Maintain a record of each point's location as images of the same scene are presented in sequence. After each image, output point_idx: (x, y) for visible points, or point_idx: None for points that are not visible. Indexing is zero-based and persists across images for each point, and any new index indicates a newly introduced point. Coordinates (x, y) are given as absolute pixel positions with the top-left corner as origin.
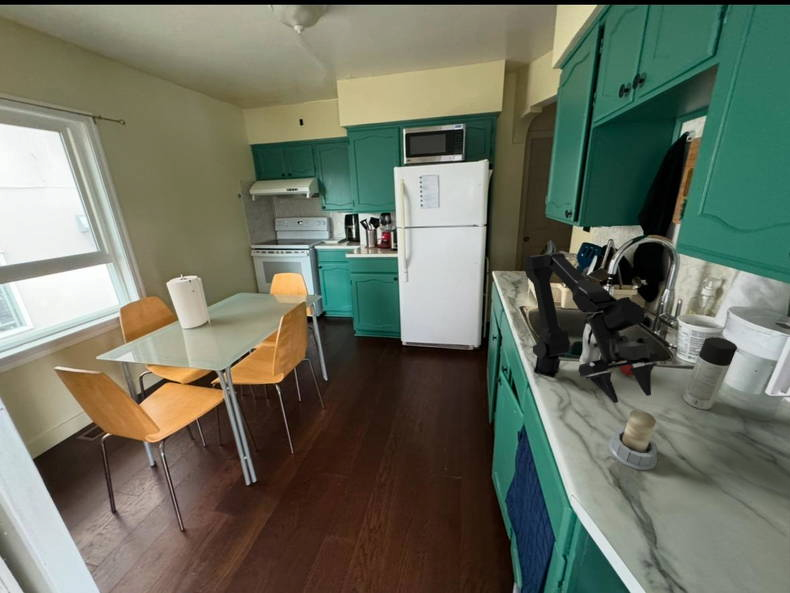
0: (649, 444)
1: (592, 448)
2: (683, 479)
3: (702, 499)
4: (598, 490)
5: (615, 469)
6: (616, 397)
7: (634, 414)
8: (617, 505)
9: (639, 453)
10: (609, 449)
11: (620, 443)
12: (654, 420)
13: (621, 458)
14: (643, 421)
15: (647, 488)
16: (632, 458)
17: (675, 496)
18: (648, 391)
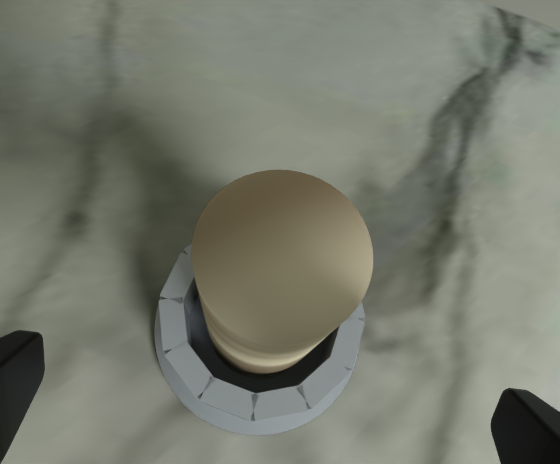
0: (194, 279)
1: (417, 420)
2: (189, 159)
3: (213, 94)
4: (531, 245)
5: (401, 287)
6: (550, 421)
7: (314, 302)
8: (503, 182)
9: None
10: (347, 378)
11: (350, 330)
12: (226, 195)
13: None
14: (317, 219)
15: (352, 185)
16: None
17: (287, 131)
18: (15, 356)
